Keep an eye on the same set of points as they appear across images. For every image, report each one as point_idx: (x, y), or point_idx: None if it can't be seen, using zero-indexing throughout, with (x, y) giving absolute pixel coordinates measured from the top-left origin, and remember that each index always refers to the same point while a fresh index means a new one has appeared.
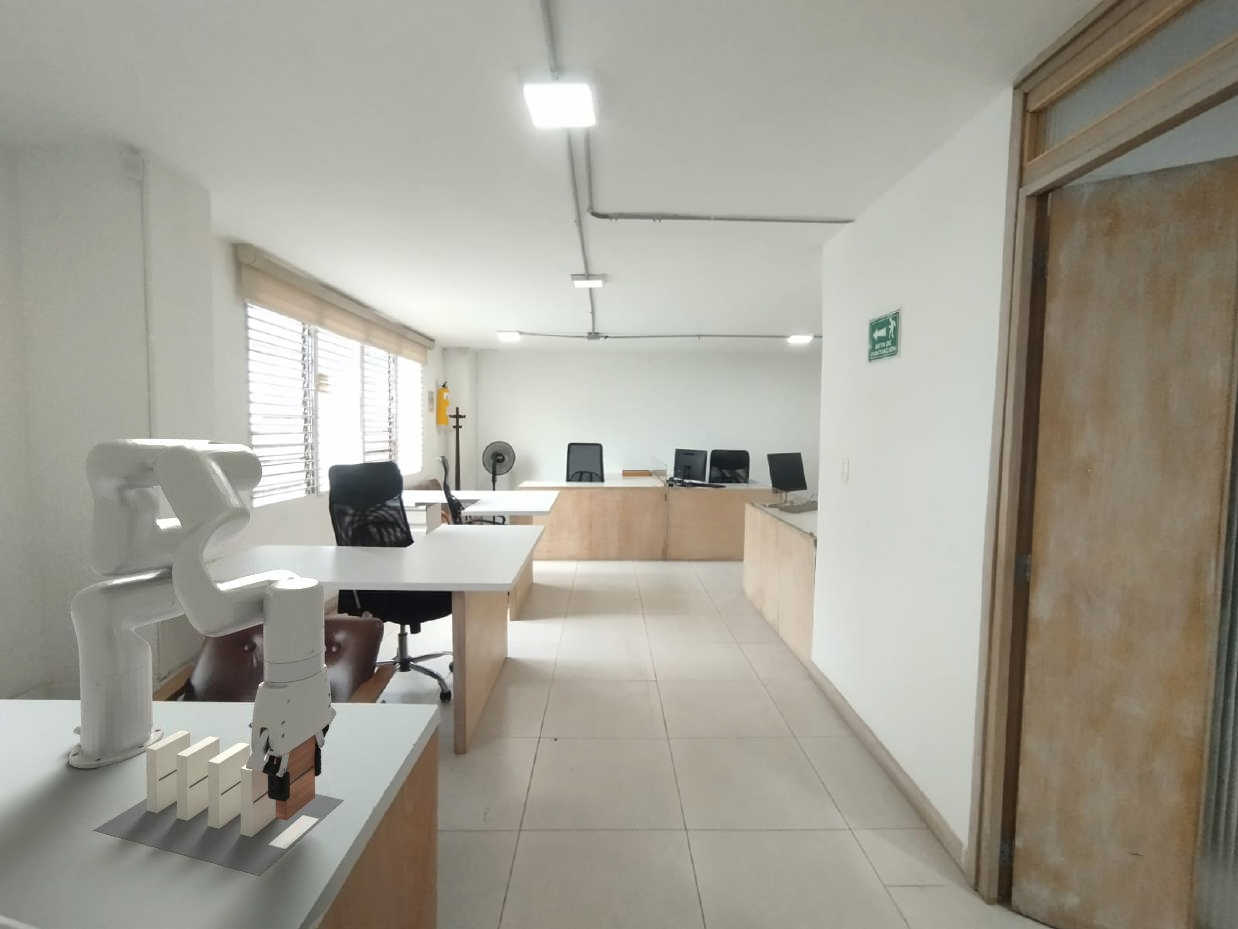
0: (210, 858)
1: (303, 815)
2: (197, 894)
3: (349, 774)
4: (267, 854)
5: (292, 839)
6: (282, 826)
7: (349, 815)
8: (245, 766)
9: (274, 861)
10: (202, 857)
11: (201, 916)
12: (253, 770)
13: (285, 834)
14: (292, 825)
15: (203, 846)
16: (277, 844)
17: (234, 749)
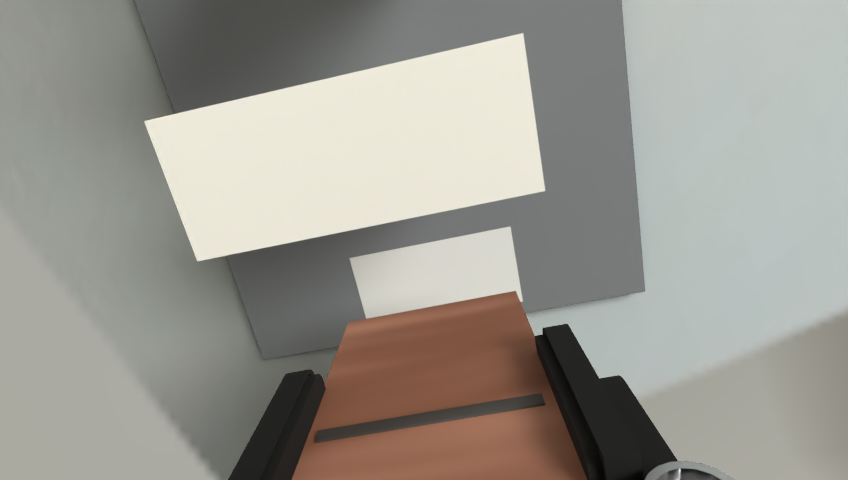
0: None
1: (511, 229)
2: (128, 244)
3: (814, 137)
4: (321, 301)
5: (407, 310)
6: (430, 215)
7: (594, 356)
8: (185, 141)
9: (318, 347)
10: (179, 100)
11: (111, 334)
12: (222, 251)
13: (410, 265)
14: (453, 243)
15: (203, 33)
16: (365, 287)
17: None
